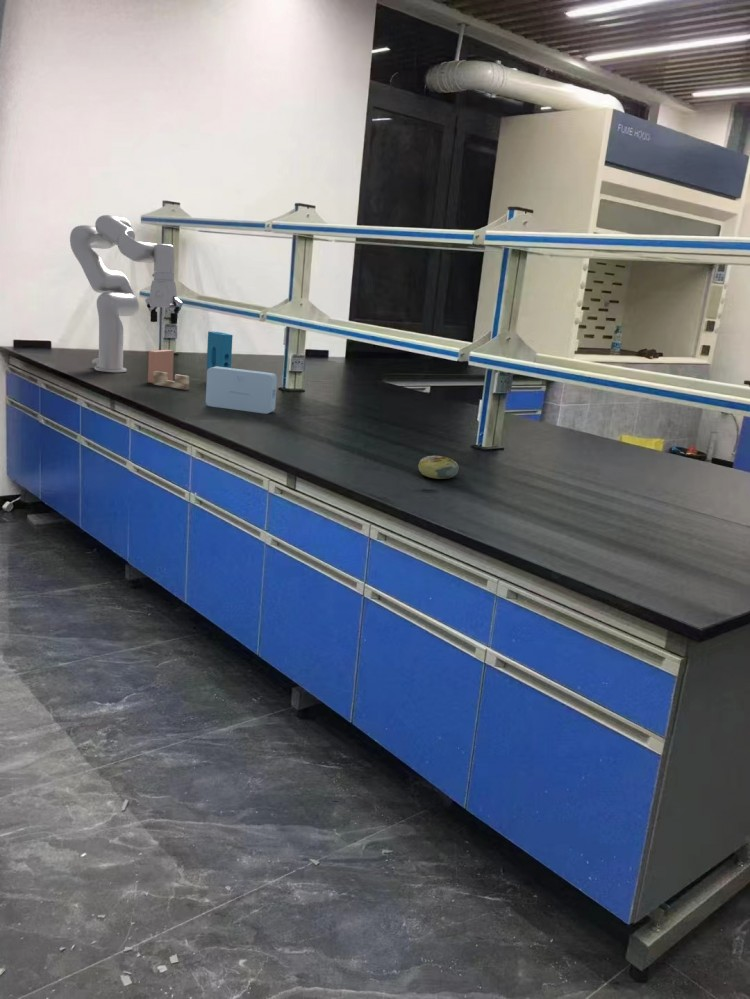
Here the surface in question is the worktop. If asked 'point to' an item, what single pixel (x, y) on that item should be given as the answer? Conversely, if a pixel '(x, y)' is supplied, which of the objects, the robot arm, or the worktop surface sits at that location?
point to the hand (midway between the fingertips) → (163, 322)
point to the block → (219, 350)
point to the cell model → (438, 467)
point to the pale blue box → (241, 389)
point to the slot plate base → (162, 380)
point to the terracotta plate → (160, 363)
